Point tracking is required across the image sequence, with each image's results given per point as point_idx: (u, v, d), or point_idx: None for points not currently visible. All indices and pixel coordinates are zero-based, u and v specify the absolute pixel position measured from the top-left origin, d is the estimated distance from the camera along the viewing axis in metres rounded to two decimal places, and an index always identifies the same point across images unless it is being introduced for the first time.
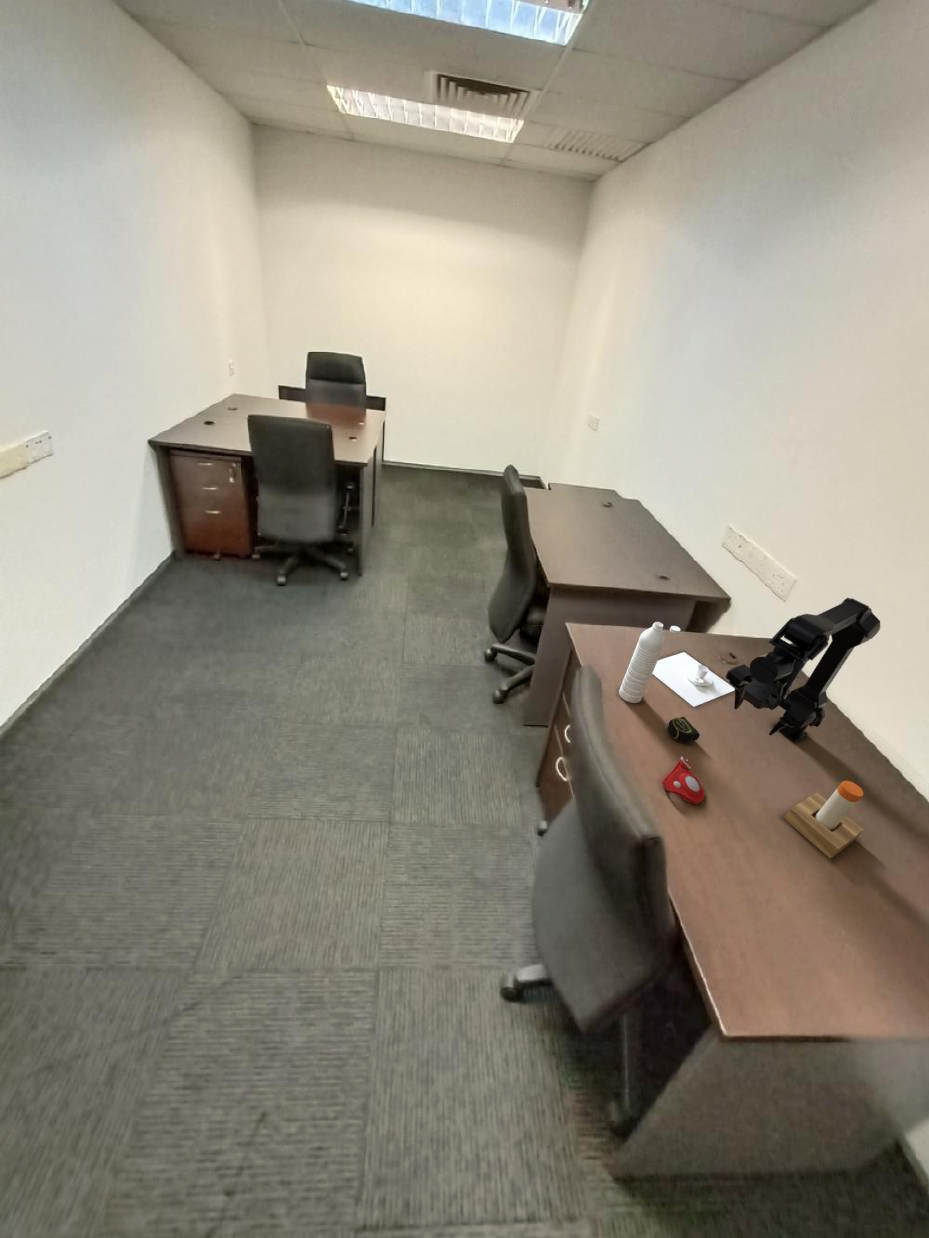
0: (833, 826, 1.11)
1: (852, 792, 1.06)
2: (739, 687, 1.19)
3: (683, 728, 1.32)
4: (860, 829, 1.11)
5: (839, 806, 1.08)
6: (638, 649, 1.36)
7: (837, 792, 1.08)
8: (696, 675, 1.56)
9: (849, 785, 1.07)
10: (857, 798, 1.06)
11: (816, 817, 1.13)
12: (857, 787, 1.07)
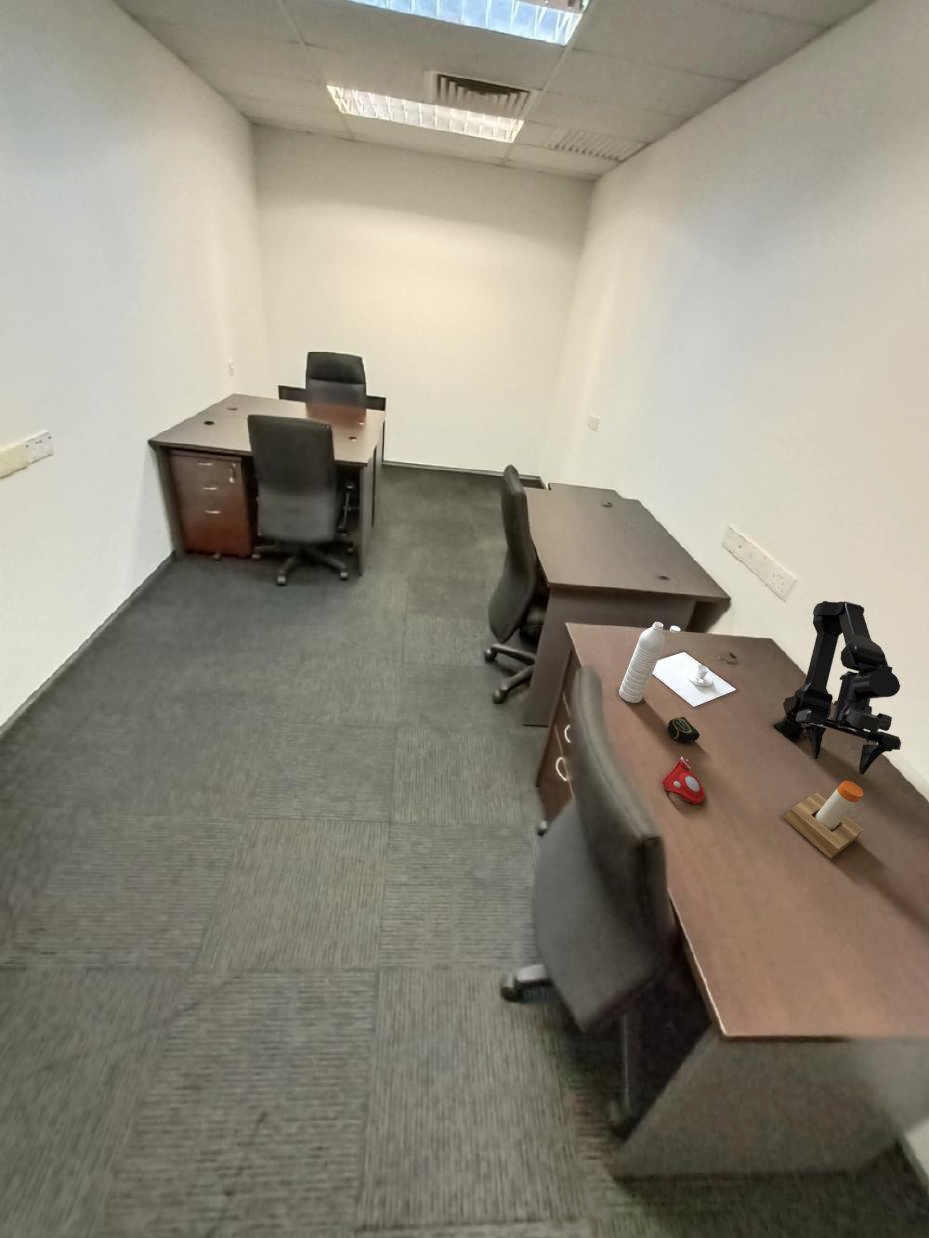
0: (833, 826, 1.11)
1: (852, 792, 1.06)
2: None
3: (683, 728, 1.32)
4: (860, 829, 1.11)
5: (839, 806, 1.08)
6: (638, 649, 1.36)
7: (837, 792, 1.08)
8: (696, 675, 1.56)
9: (849, 785, 1.07)
10: (857, 798, 1.06)
11: (816, 817, 1.13)
12: (857, 787, 1.07)
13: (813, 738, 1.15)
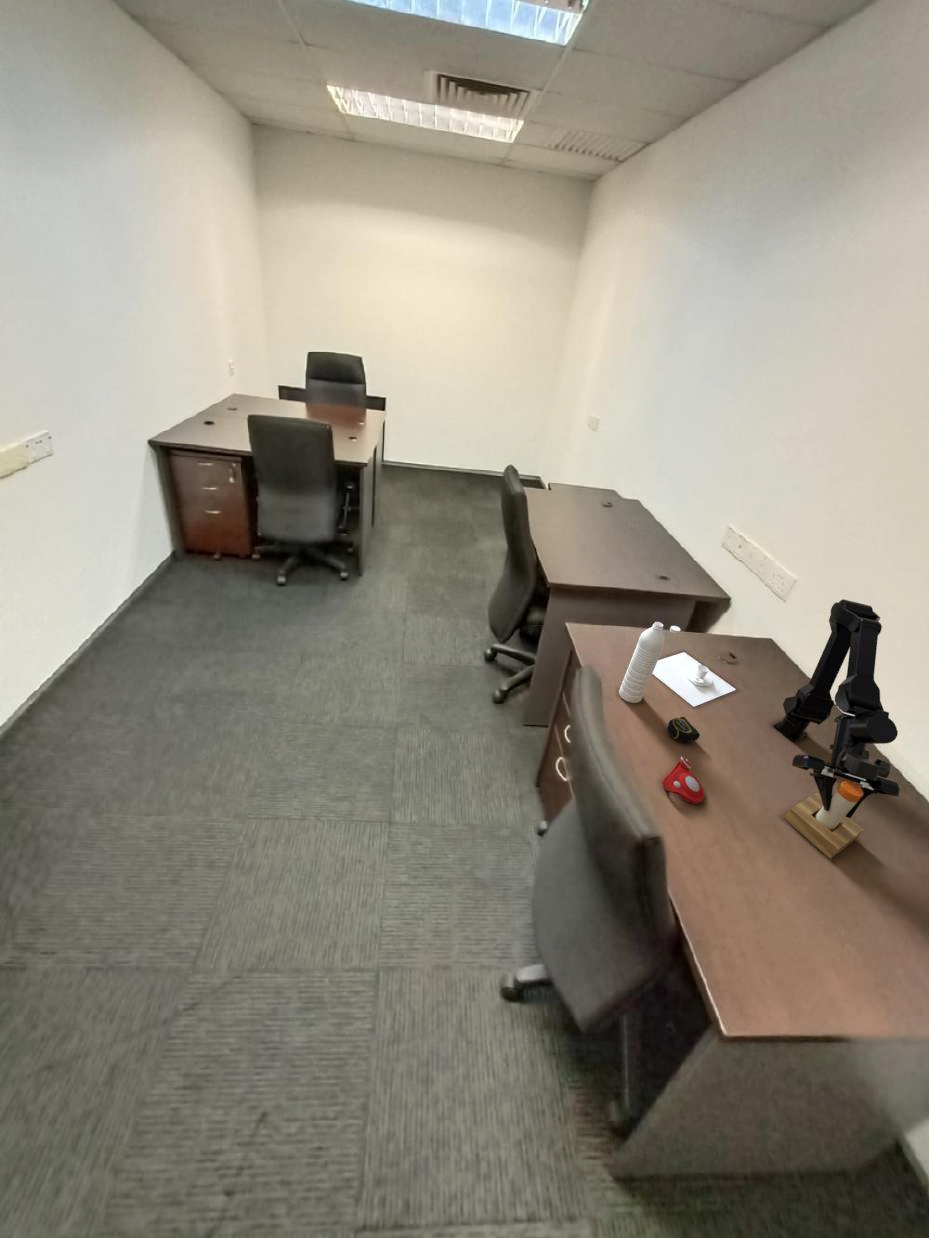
0: (833, 826, 1.11)
1: (852, 792, 1.06)
2: None
3: (683, 728, 1.32)
4: (860, 829, 1.11)
5: (839, 806, 1.08)
6: (638, 649, 1.36)
7: (837, 792, 1.08)
8: (696, 675, 1.56)
9: (849, 785, 1.07)
10: (857, 798, 1.06)
11: (816, 817, 1.13)
12: (857, 787, 1.07)
13: (823, 788, 1.11)
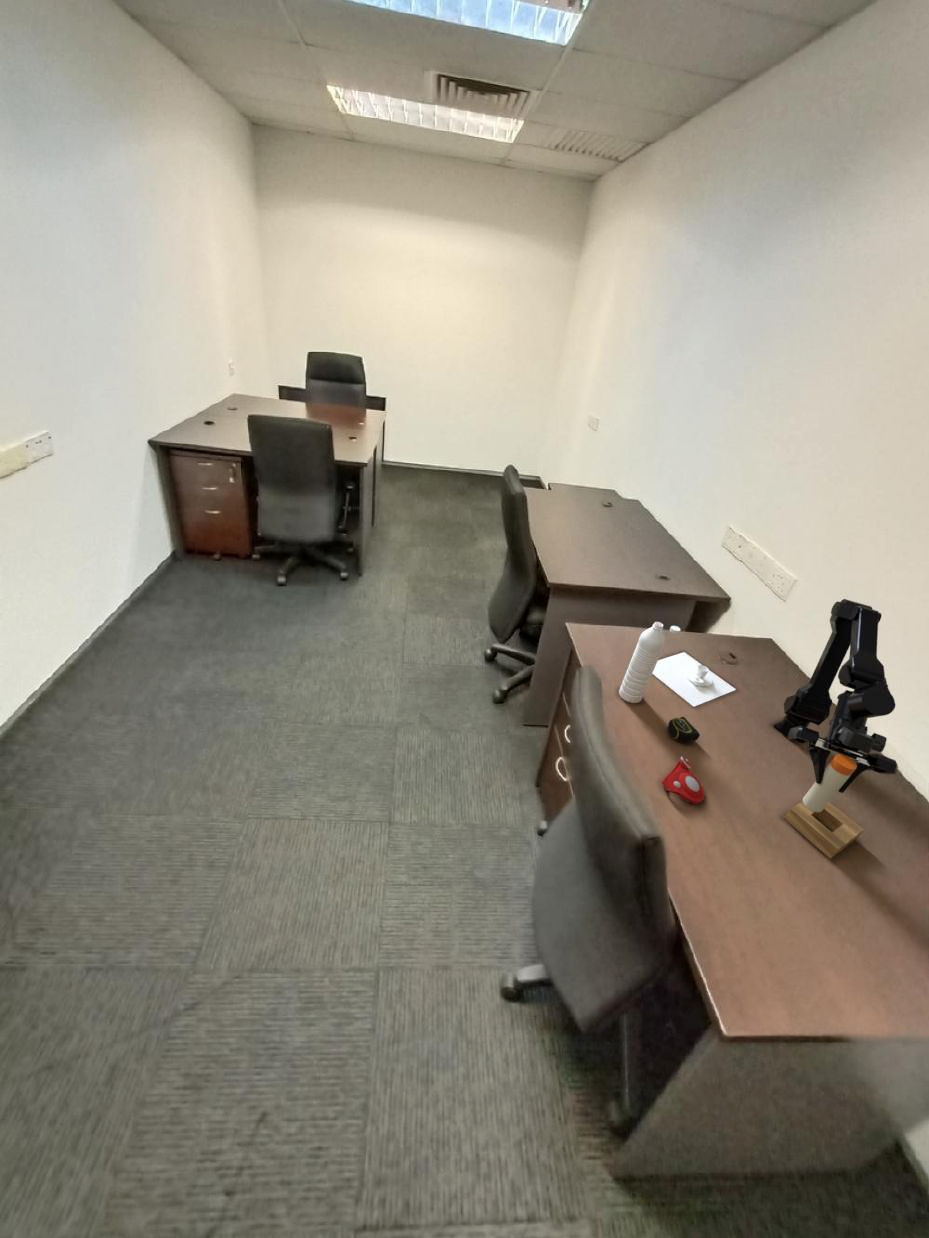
0: (825, 801, 1.09)
1: (844, 764, 1.04)
2: None
3: (683, 728, 1.32)
4: (860, 829, 1.11)
5: (831, 779, 1.06)
6: (638, 649, 1.36)
7: (829, 765, 1.06)
8: (696, 675, 1.56)
9: (843, 758, 1.05)
10: (849, 771, 1.03)
11: (809, 791, 1.11)
12: (851, 761, 1.05)
13: (817, 761, 1.10)
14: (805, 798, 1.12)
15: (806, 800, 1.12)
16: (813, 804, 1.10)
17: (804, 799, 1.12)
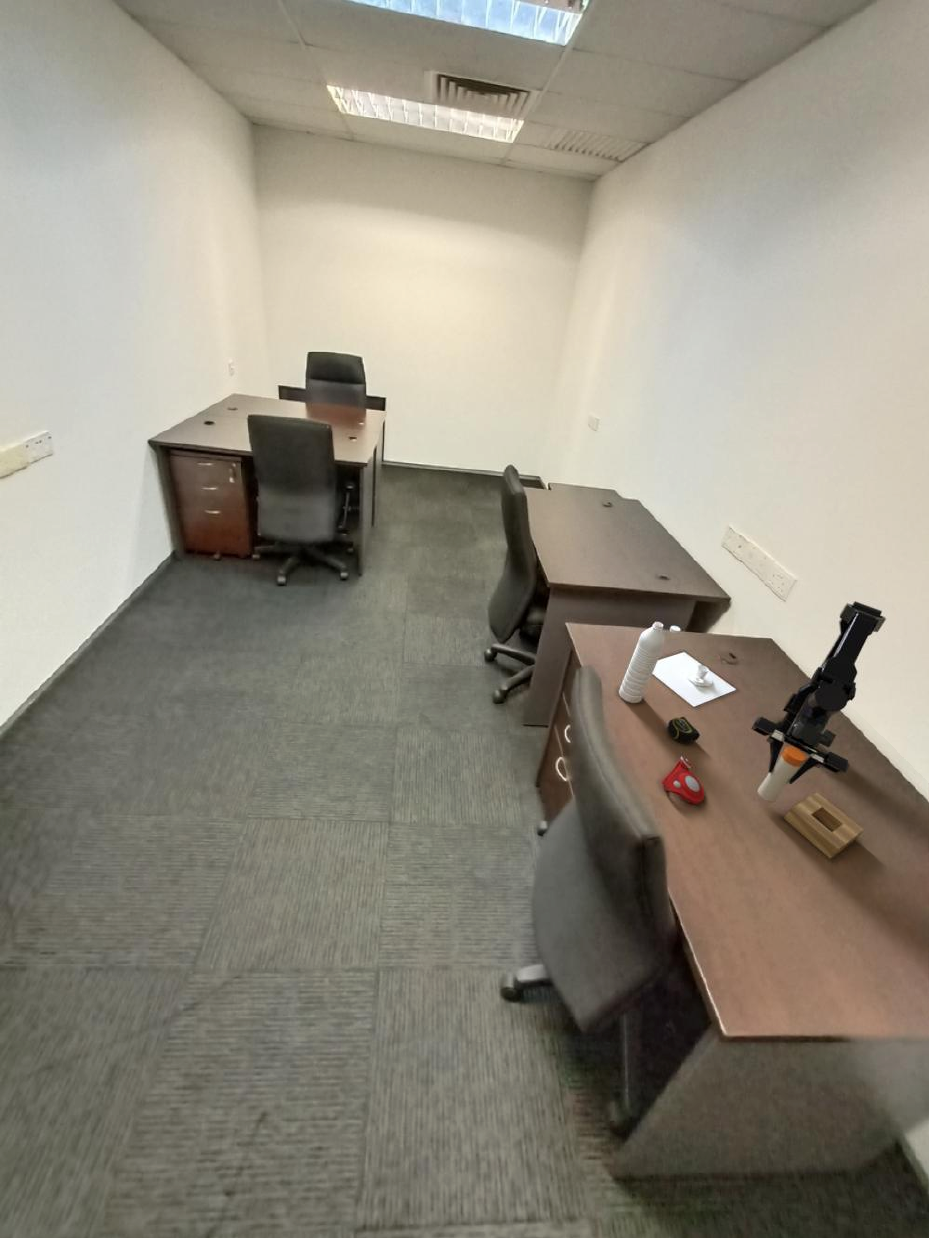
0: (775, 790, 1.14)
1: (792, 755, 1.09)
2: None
3: (683, 728, 1.32)
4: (860, 829, 1.11)
5: (780, 769, 1.12)
6: (638, 649, 1.36)
7: (781, 755, 1.12)
8: (696, 675, 1.56)
9: (794, 750, 1.11)
10: (796, 762, 1.09)
11: (763, 781, 1.17)
12: (802, 754, 1.10)
13: None
14: (760, 787, 1.18)
15: (759, 789, 1.17)
16: (765, 792, 1.16)
17: (759, 788, 1.18)
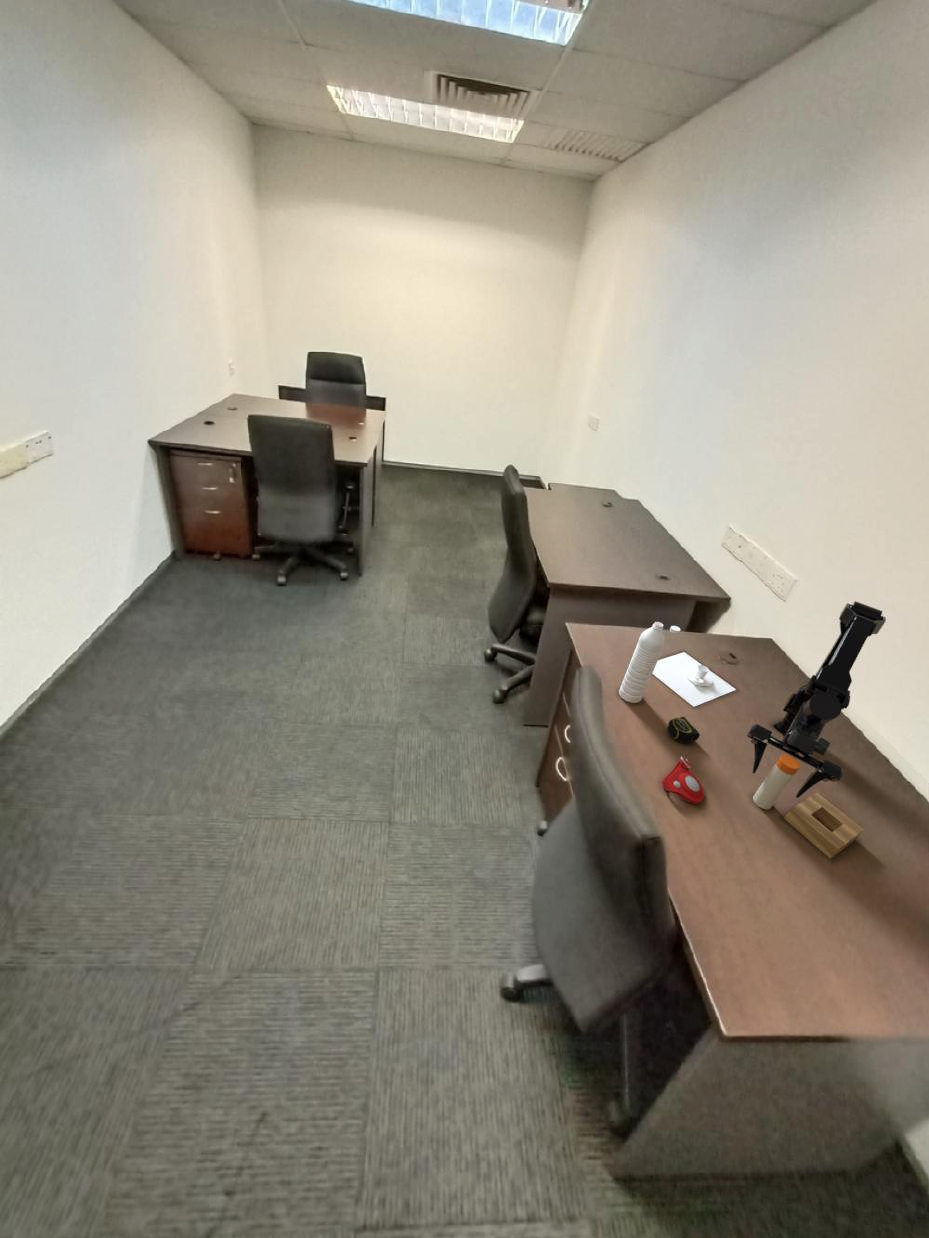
0: (770, 798, 1.15)
1: (786, 763, 1.11)
2: None
3: (683, 728, 1.32)
4: (860, 829, 1.11)
5: (774, 776, 1.13)
6: (638, 649, 1.36)
7: None
8: (696, 675, 1.56)
9: (788, 759, 1.12)
10: (790, 770, 1.10)
11: None
12: (796, 762, 1.11)
13: None
14: (755, 794, 1.19)
15: (754, 796, 1.19)
16: (760, 800, 1.17)
17: (754, 795, 1.19)
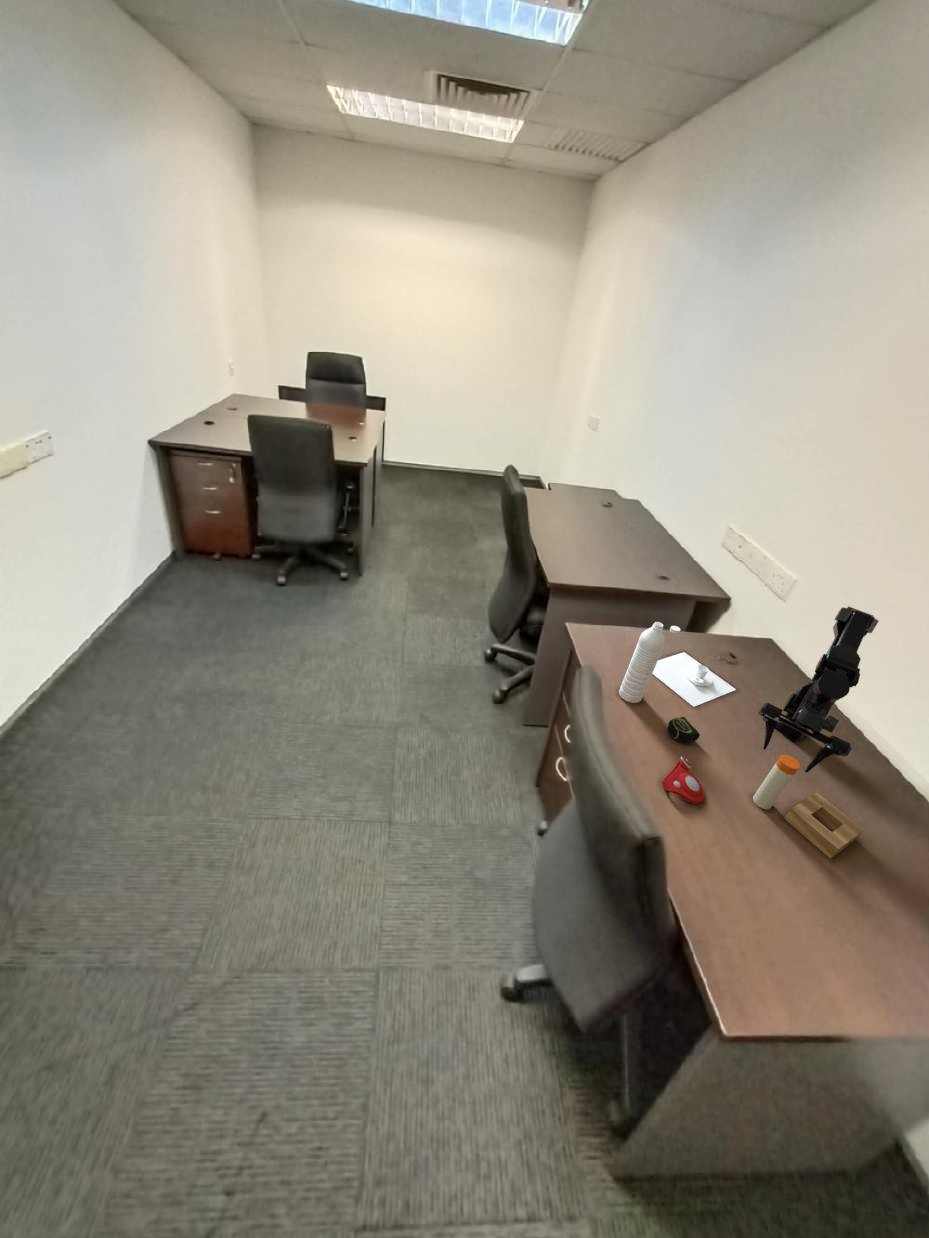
0: (770, 798, 1.15)
1: (786, 763, 1.11)
2: None
3: (683, 728, 1.32)
4: (860, 829, 1.11)
5: (774, 776, 1.13)
6: (638, 649, 1.36)
7: None
8: (696, 675, 1.56)
9: (788, 759, 1.12)
10: (790, 770, 1.10)
11: None
12: (796, 762, 1.11)
13: None
14: (755, 794, 1.19)
15: (754, 796, 1.19)
16: (760, 800, 1.17)
17: (754, 795, 1.19)
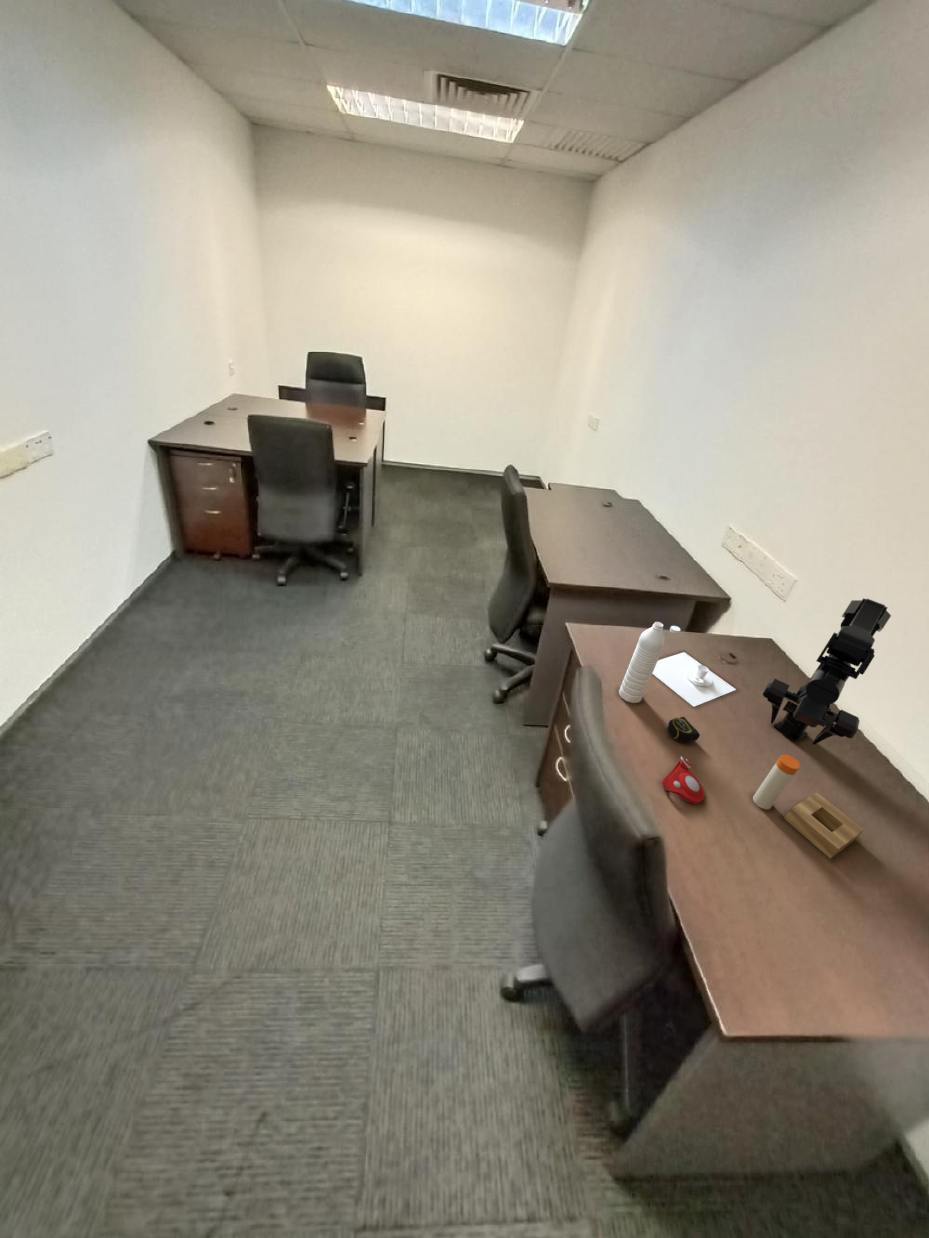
0: (770, 798, 1.15)
1: (786, 763, 1.11)
2: (779, 704, 1.18)
3: (683, 728, 1.32)
4: (860, 829, 1.11)
5: (774, 776, 1.13)
6: (638, 649, 1.36)
7: None
8: (696, 675, 1.56)
9: (788, 759, 1.12)
10: (790, 770, 1.10)
11: None
12: (796, 762, 1.11)
13: None
14: (755, 794, 1.19)
15: (754, 796, 1.19)
16: (760, 800, 1.17)
17: (754, 795, 1.19)
